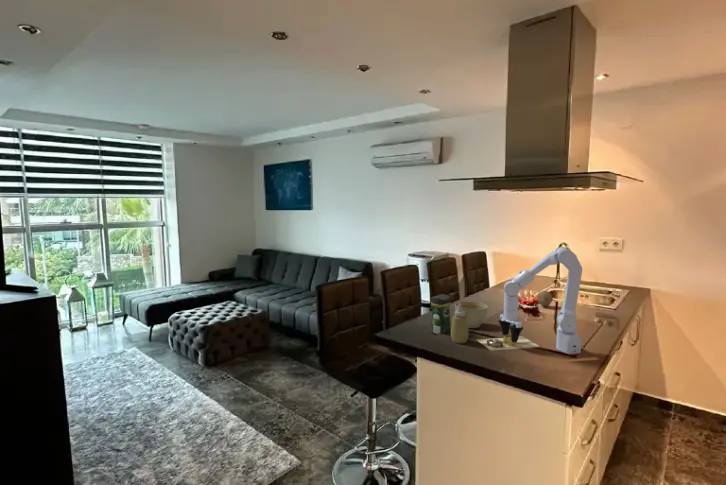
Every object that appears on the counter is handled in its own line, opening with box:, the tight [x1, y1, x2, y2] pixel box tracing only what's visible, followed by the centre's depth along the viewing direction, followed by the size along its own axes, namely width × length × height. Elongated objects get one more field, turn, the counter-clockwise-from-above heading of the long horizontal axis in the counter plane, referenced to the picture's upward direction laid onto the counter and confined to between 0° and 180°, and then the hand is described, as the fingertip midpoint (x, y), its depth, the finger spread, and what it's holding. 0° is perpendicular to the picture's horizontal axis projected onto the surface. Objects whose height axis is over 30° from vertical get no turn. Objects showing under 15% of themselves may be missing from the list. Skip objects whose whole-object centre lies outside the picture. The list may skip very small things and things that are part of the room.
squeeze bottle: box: [450, 304, 470, 344], centre depth 181 cm, size 8×8×18 cm
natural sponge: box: [536, 290, 554, 308], centre depth 242 cm, size 9×9×10 cm
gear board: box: [476, 335, 541, 352], centre depth 179 cm, size 14×23×4 cm, turn 100°
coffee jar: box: [430, 293, 451, 335], centre depth 197 cm, size 10×8×19 cm
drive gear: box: [487, 338, 503, 348], centre depth 176 cm, size 7×7×2 cm
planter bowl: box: [454, 301, 489, 329], centre depth 207 cm, size 16×16×11 cm
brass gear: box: [502, 333, 517, 346], centre depth 178 cm, size 6×6×4 cm
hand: (509, 338), depth 177 cm, fingers open, 7 cm apart
